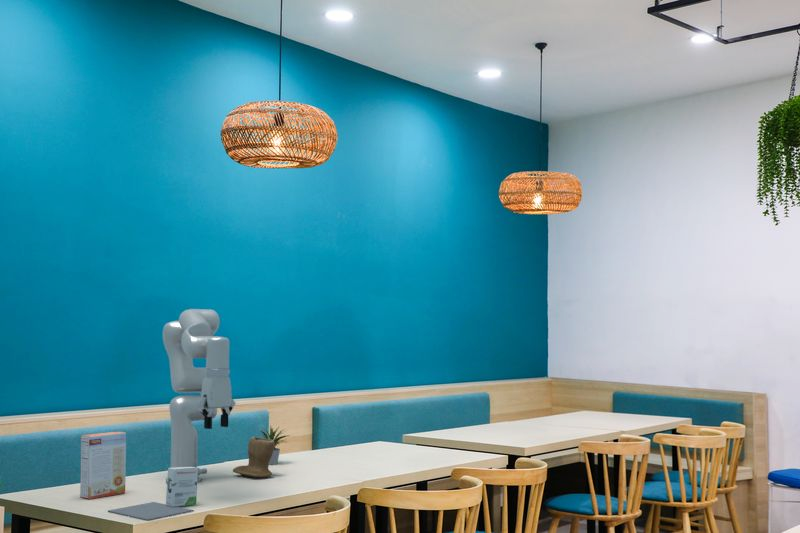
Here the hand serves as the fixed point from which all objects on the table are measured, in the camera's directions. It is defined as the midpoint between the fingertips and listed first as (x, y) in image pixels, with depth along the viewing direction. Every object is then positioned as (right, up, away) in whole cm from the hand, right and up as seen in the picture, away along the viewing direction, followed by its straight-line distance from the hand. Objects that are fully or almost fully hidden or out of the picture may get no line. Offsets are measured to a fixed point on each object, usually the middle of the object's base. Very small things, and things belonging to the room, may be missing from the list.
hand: (216, 427), depth 288 cm
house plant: (+8, -29, +70) cm, 77 cm away
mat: (-16, -22, -22) cm, 35 cm away
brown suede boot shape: (+6, -27, +42) cm, 51 cm away
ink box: (-9, -23, -13) cm, 27 cm away
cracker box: (-39, -24, +3) cm, 46 cm away
